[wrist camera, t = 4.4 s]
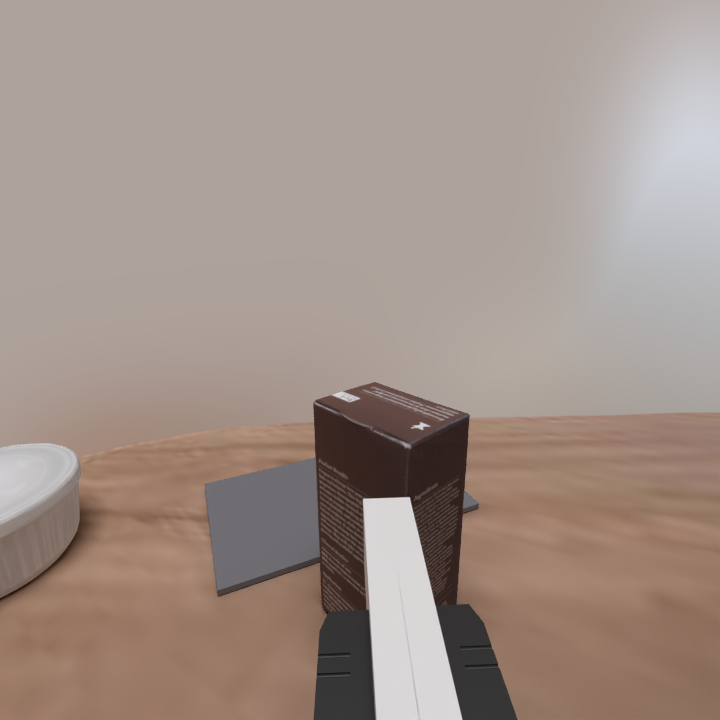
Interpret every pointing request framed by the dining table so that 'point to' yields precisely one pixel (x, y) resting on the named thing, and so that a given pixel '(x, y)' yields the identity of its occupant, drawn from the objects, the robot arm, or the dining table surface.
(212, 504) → the mat
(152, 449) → the dining table surface
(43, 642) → the dining table surface
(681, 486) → the dining table surface
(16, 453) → the ramekin
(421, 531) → the box
